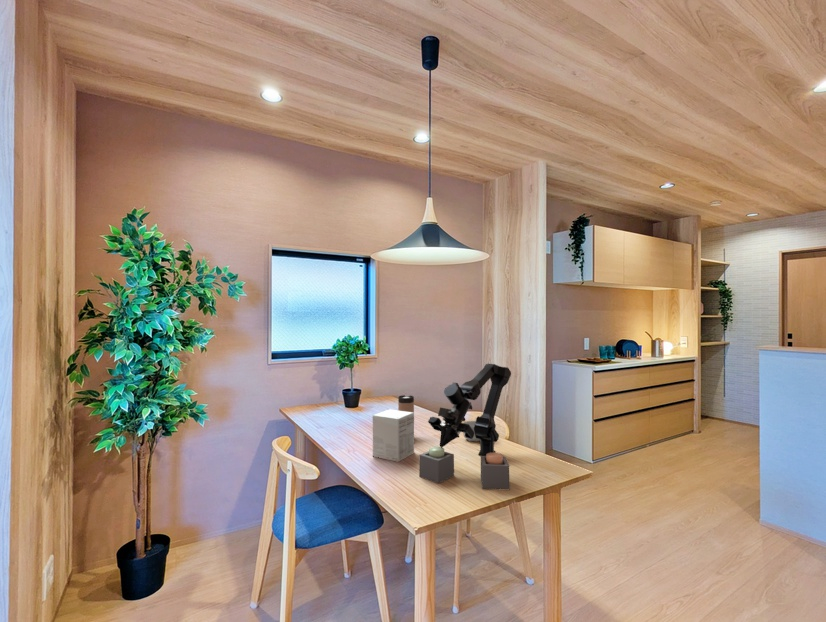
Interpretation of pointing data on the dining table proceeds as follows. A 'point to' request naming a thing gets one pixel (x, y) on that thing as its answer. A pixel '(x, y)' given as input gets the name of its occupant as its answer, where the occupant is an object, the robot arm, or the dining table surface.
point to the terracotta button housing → (494, 474)
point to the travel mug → (406, 403)
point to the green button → (436, 452)
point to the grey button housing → (436, 467)
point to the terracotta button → (494, 458)
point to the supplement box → (393, 434)
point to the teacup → (473, 430)
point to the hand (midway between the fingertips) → (440, 446)
